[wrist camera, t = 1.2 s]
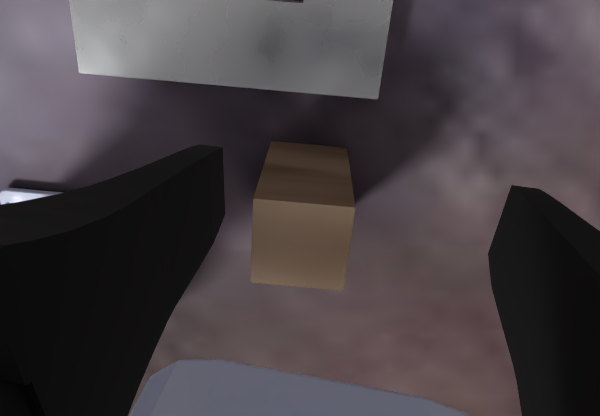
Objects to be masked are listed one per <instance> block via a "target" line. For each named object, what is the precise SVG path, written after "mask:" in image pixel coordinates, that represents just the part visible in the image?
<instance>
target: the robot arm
mask: <svg viewBox="0 0 600 416" xmlns="http://www.w3.org/2000/svg"><path fill="white" fill-rule="evenodd" d="M0 202H1V205H0V416H127V415H128V413H129V410H130V408H131V405H132V403H133V400H134V398H135V395H136V393H137V390H138V387H139V385H140V383H141V380H142V378H143V376H144V373H145V371H146V369H147V366H148V364H149V362H150V359H151V357H152V354H153V352H154V350H155V348H156V345H157V343H158V341H159V339H160V337H161V334H162V332H163V330H164V328H165V326H166V323H167V321H168V319H169V317H170V316H171V314H172V312H173V310H174V308H175V306H176V305H177V303H178V301H179V300H180V298H181V296H182V295H183V293H184V291H185V290H186V288H187V286H188V285H189V283H190V281H191V280H192V278H193V276H194V275H195V273H196V272H197V270H198V268H199V267H200V265H201V263H202V262H203V260H204V258H205V256H206V255H207V253H208V251H209V250H210V248H211V246H212V244H213V243H214V240H215V238H216V235H217V233H218V231H219V228H220V226H221V223H222V221H223V218H224V215H225V201H224V175H223V149H222V147H214V146H207V145H197V146H193V147H190V148H187V149H185V150H182V151H179V152H177V153H175V154H172V155H170V156H167V157H165V158H163V159H160V160H158V161H155V162H153V163H151V164H148V165H146V166H143V167H141V168H138V169H136V170H133V171H130V172H128V173H125V174H122V175H120V176H117V177H114V178H112V179H109V180H106V181H103V182H100V183H97V184H93V185H90V186H87V187H83V188H79V189H76V190H72V191H68V192H64V193H63V192H52V191H41V190H30V189H19V188H6V189H4V190H2V191H1V192H0ZM9 202H10V203H9ZM488 256H489V267H490V276H491V284H492V290H493V294H494V298H495V301H496V305H497V309H498V312H499V316H500V320H501V323H502V327H503V330H504V334H505V338H506V341H507V345H508V348H509V352H510V356H511V359H512V363H513V367H514V371H515V376H516V380H517V385H518V392H519V398H520V405H521V411H522V416H600V231H599V230H597V229H596V228H594V227H593V226H592V225H590V224H589V223H587V222H586V221H585V220H583V219H582V218H581V217H579V216H578V215H577V214H575V213H574V212H572V211H571V210H570V209H568V208H567V207H566V206H564V205H563V204H561V203H560V202H559V201H557V200H556V199H554V198H553V197H551V196H550V195H548V194H547V193H545V192H543V191H542V190H540V189H536V188H528V187H520V186H513V185H512V186H511V189H510V192H509V194H508V197H507V200H506V203H505V206H504V209H503V212H502V215H501V218H500V221H499V224H498V226H497V229H496V232H495V235H494V238H493V241H492V244H491V247H490V250H489V253H488ZM129 416H471V415H469V414H467V413H465V412H463V411H460V410H457V409H455V408H452V407H449V406H447V405H444V404H441V403H438V402H436V401H433V400H430V399H428V398H425V397H420V396H414V395H409V394H404V393H399V392H393V391H388V390H383V389H377V388H372V387H367V386H362V385H356V384H351V383H346V382H340V381H335V380H330V379H325V378H319V377H314V376H309V375H303V374H298V373H293V372H288V371H282V370H277V369H272V368H266V367H261V366H256V365H251V364H245V363H240V362H235V361H229V360H208V359H186V360H178V361H176V362H175V363H173V364H171V365H169V366H168V367H166V368H164V369H162V370H160V371H159V372H157V373H155V374H153V375H151V376H150V378H149V380H148V382H147V384H146V386H145V387H144V389H143V391H142V393H141V395H140V397H139V398H138V400H137V402H136V404H135V406H134V408H133V409H132V411H131V413H130V415H129Z"/></svg>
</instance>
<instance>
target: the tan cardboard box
mask: <svg viewBox="0 0 600 416" xmlns="http://www.w3.org/2000/svg"><path fill="white" fill-rule="evenodd" d="M354 214H355V201H354V194H353V186H352V179H351V172H350V165H349V157H348V150H347V147H336V146H324V145H313V144H302V143H290V142H279V141H271V143H270V146H269V149H268V153H267V156H266V159H265V162H264V166H263V169H262V172H261V175H260V178H259V182H258V185H257V188H256V191H255V194H254V198H253V220H252V249H251V279H250V282H254V283H265V284H277V285H288V286H299V287H310V288H321V289H333V290H343V289H344V282H345V275H346V268H347V261H348V255H349V248H350V241H351V234H352V227H353V221H354Z"/></svg>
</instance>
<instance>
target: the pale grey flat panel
mask: <svg viewBox="0 0 600 416" xmlns="http://www.w3.org/2000/svg"><path fill="white" fill-rule="evenodd" d="M69 2H70V10H71V17H72V24H73V32H74V39H75V46H76V54H77V61H78V68H79V73H84V74H95V75H107V76H118V77H129V78H141V79H152V80H163V81H175V82H186V83H197V84H209V85H220V86H231V87H243V88H254V89H265V90H277V91H288V92H299V93H311V94H322V95H333V96H345V97H356V98H367V99H378V96H379V89H380V83H381V76H382V70H383V63H384V57H385V50H386V44H387V37H388V31H389V24H390V18H391V11H392V5H393V0H303V1H292V0H69Z"/></svg>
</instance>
